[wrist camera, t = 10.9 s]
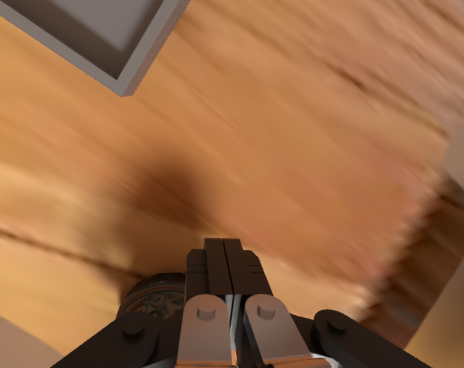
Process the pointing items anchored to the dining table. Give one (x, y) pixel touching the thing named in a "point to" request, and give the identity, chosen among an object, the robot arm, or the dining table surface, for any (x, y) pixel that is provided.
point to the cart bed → (100, 34)
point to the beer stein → (156, 296)
